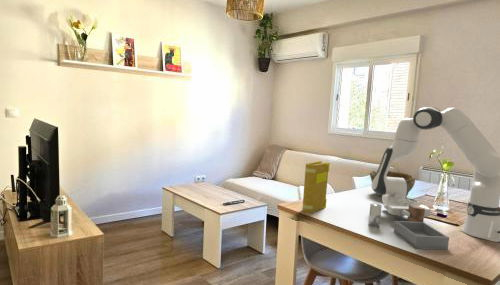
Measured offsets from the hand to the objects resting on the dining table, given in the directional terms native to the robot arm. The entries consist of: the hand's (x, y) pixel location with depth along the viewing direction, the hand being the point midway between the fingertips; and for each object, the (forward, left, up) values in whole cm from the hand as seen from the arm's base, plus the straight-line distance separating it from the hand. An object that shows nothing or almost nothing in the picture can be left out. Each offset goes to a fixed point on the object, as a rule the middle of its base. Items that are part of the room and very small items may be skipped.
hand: (416, 215), depth 156 cm
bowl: (-15, -57, -6) cm, 60 cm away
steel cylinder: (+20, -1, -6) cm, 21 cm away
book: (+44, -23, -6) cm, 50 cm away
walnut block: (0, -1, -6) cm, 6 cm away
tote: (+7, +15, -6) cm, 18 cm away
